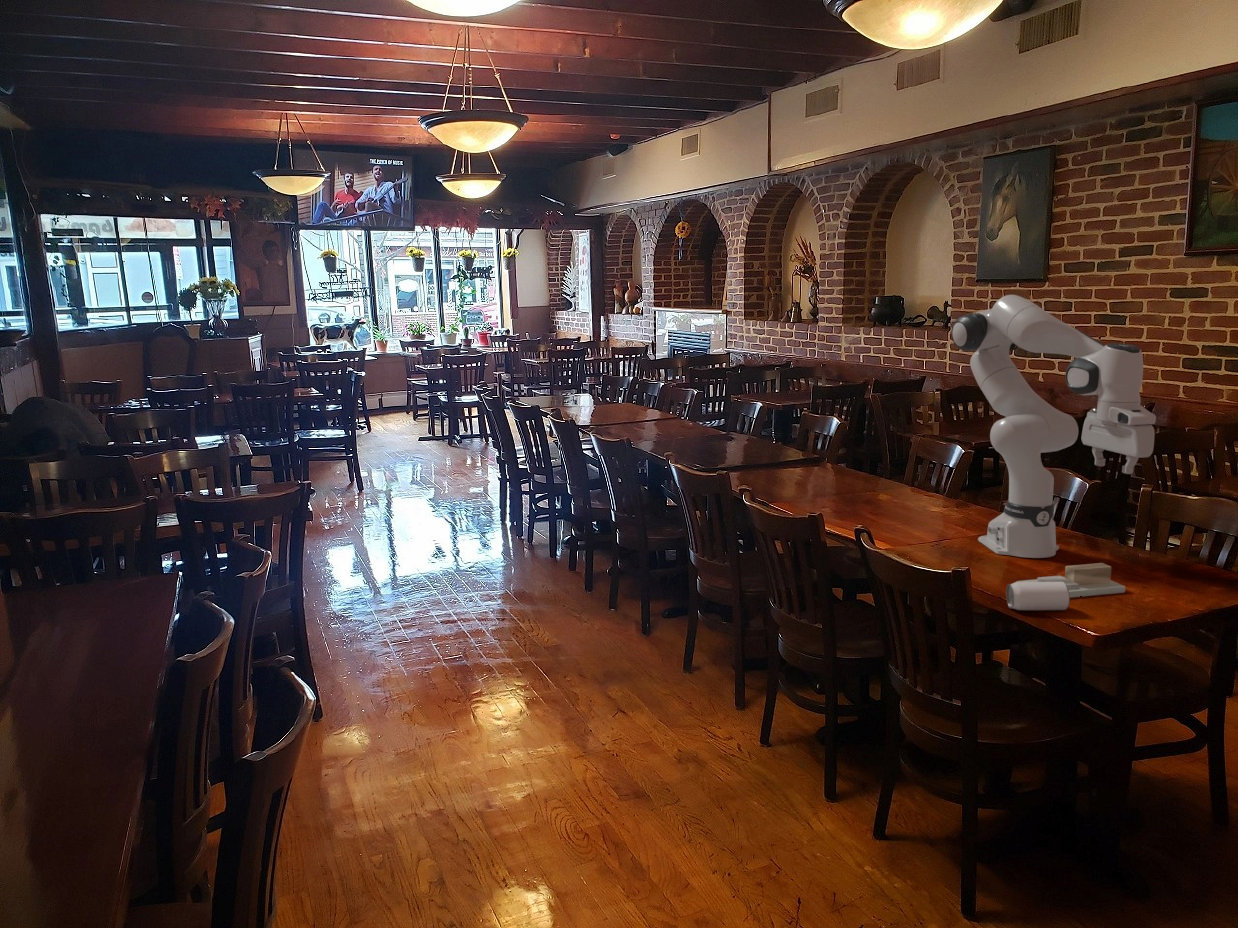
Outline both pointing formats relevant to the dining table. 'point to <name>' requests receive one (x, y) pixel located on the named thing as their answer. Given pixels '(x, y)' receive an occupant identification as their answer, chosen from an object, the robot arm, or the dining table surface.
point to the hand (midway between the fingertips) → (1113, 469)
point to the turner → (1082, 575)
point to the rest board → (1093, 589)
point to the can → (1038, 596)
